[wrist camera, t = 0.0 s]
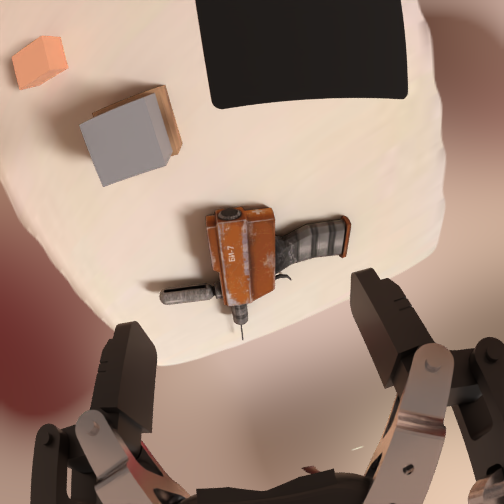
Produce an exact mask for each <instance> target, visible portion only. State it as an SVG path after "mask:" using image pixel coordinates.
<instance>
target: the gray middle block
mask: <svg viewBox="0 0 504 504" xmlns="http://www.w3.org/2000/svg"><path fill="white" fill-rule="evenodd" d="M79 126H80V129H81V132H82V135H83V138H84V140H85V143H86V146H87V148H88V151H89V153H90V156H91V159H92V161H93V164H94V166H95V169H96V171H97V174H98V176H99V178H100V181H101V183H102V186H103V187H105V186H108V185H110V184H113V183H116V182H119V181H121V180H124V179H127V178H130V177H133V176H136V175H139V174H142V173H145V172H148V171H151V170H154V169H157V168H160V167H163V166H166V165H167V163H168V160H169V158H170V156H171V154H172V152H173V150H172V147H171V144H170V141H169V138H168V135H167V131H166V128H165V125H164V122H163V118H162V115H161V112H160V109H159V105H158V102H157V98H156V95H155V93H153V94H151V95H148V96H145V97H142V98H139V99H137V100H134V101H132V102H129V103H126V104H124V105H121V106H119V107H116V108H114V109H112V110H109V111H107V112H105V113H102V114H100V115H98V116H96V117H94V118H92V119H90V120H88V121H86V122H84V123H82V124H80V125H79Z"/></svg>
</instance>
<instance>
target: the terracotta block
mask: <svg viewBox="0 0 504 504" xmlns="http://www.w3.org/2000/svg"><path fill="white" fill-rule="evenodd" d="M12 61H13V65H14V70H15V74H16V78H17V82H18V85H19V89H20V90H23V89H26V88H31V87H35V86H39V85H41V84H43V83H44V82H46V81H47V80H49V79H51V78H52V77H54V76H56V75H57V74H59V73H61V72H63V71H64V70H66V69H68V65H67V61H66V57H65V53H64V49H63V45H62V41H61V37H53V36H41V37H39V38H38V39H36V40H35V41H33V42H32V43H30V44H29V45H27V46H26V47H25V48H23V49H22V50H21V51H19V52H18V53H17V54H15V55H14V56H13V57H12Z"/></svg>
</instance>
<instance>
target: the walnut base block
mask: <svg viewBox="0 0 504 504" xmlns="http://www.w3.org/2000/svg"><path fill="white" fill-rule="evenodd" d="M153 93H155V95H156V98H157V102H158V105H159V109H160V112H161V115H162V118H163V122H164V125H165V128H166V131H167V135H168V138H169V141H170V144H171V147H172V150H173V152H172V154H171V156H173V155H177V154H178V153H179V151H180V148H181V146H182V140H181V137H180V134H179V130H178V127H177V124H176V120H175V117H174V113H173V110H172V107H171V103H170V100H169V96H168V93H167V89H166V86H165V85H163V86H160V87H157V88H154V89H151V90H148V91H145V92H142V93H140V94H137V95H134V96H132V97H129V98H127V99H124V100H122V101H119V102H117V103H114V104H112V105H110V106H107V107H105V108H103V109H101V110H98V111H96V112H94V113H92V115H93V118H94V117H96V116H98V115H100V114H102V113H105V112H107V111H109V110H112V109H114V108H116V107H119V106H121V105H124V104H126V103H129V102H132V101H134V100H137V99H139V98H142V97H145V96H148V95H151V94H153Z"/></svg>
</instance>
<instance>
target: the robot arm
mask: <svg viewBox="0 0 504 504" xmlns="http://www.w3.org/2000/svg"><path fill="white" fill-rule="evenodd" d="M350 306H351V311H352V314H353V317H354V319H355V322H356V323H357V325H358V328H359V330H360V332H361V334H362V337H363V339H364V341H365V343H366V345H367V348H368V350H369V353H370V355H371V357H372V359H373V362H374V364H375V366H376V369H377V371H378V374H379V376H380V378H381V381H382V383H383V386H384V388H385V389H386V388H388V387H391V386H394V387H395V389H396V392H397V394H396V398H395V400H394V403H393V406H392V410H391V412H390V415H389V418H388V421H387V424H386V426H385V429H384V432H383V434H382V437H381V439H380V442H379V444H378V446H377V448H376V450H375V452H374V454H373V456H372V458H371V461H370V463H369V465H368V467H367V470H366V472H365V474H364V476H361V475H358V474H353V473H335V472H334V469H331V470H327V471H323V472H319V473H315V474H311V475H306V476H302V477H298V478H296V479H294V480H291V481H289V482H287V483H285V484H282V485H280V486H277V487H275V488H272V489H270V490H267V491H254V490H245V489H237V488H230V487H226V488H209V489H196V491H197V494H196V495H193V496H190V495H189V494H188V493H187V492H186V491H185V489H184V488H182V487H181V486H180V485H179V484H178V483H177V482H175V481H174V480H172V478H170V477H169V475H168V474H167V473H166V472H165V471H164V469H163V468H162V467H161V465H160V464H159V463H158V462H157V460H156V459H155V458H154V456H153V455H152V454H151V452H150V451H149V450H148V448H147V447H146V445H145V444H144V443H143V441H142V440H141V433H152V418H153V417H152V416H153V402H154V389H155V377H156V366H157V352H156V349H155V346H154V344H153V343H152V341H151V340H150V339H149V337H148V336H147V335H146V333H145V332H144V330H143V329H142V327H141V326H140V325H139V323H138V322H136V321H133V322H127V323H122V324H118V325H117V326H116V328H115V332H114V336H113V339H109V341H108V342H107V344H106V345H105V347H104V349H103V351H102V355H101V359H100V364H99V368H98V374H97V377H96V382H95V387H94V392H93V397H92V402H91V407H90V410H88V411H86V412H84V413H83V414H82V415H81V416H80V417H79V418H78V421H77V423H76V425H73V426H70V427H66V428H63V429H59V428H57V427H56V426H54V425H53V424H45V425H43V426H42V427H41V428H40V429H39V431H38V433H37V435H36V441H35V448H34V457H33V466H32V479H31V502H30V504H423V501H424V499H425V497H426V494H427V492H428V489H429V486H430V484H431V481H432V478H433V475H434V473H435V470H436V467H437V464H438V460H439V457H440V454H441V451H442V447H443V444H444V440H445V435H446V427H445V426H444V424H443V421H444V417H445V412H446V407H447V406H452V409H453V411H454V414H455V417H456V419H457V422H458V425H459V428H460V430H461V433H462V436H463V439H464V442H465V445H466V448H467V451H468V454H469V458H470V461H471V464H472V468H473V472H474V475H475V479H476V483H475V484H474V485H473V487H472V488H471V490H470V493H469V496H468V504H504V344H503V343H502V342H501V341H500V340H498V339H496V338H493V337H487V338H483V339H482V340H481V341H479V343H478V344H477V345H476V347H475V348H473V349H464V350H453V351H452V350H448V349H447V348H446V347H445V346H443V345H441V344H437V343H435V342H434V341H433V339H432V338H431V336H430V334H429V333H428V331H427V329H426V328H425V326H424V324H423V323H422V321H421V319H420V318H419V316H418V315H417V313H416V312H415V310H414V308H412V305H411V304H410V302H409V301H408V299H406V296H405V294H404V293H403V291H402V290H401V288H400V287H399V286H398V285H397V284H396V283H394V282H393V281H391V280H390V279H389V278H386V279H382V280H380V278H379V277H378V275H377V274H376V272H375V271H374V269H373V268H368V269H365V270H361V271H357V272H354V273H352V274H351V292H350ZM67 467H69V468H71V469H72V479H71V480H72V481H71V499H70V498H69V497H68V495H67V491H66V488H67Z"/></svg>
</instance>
